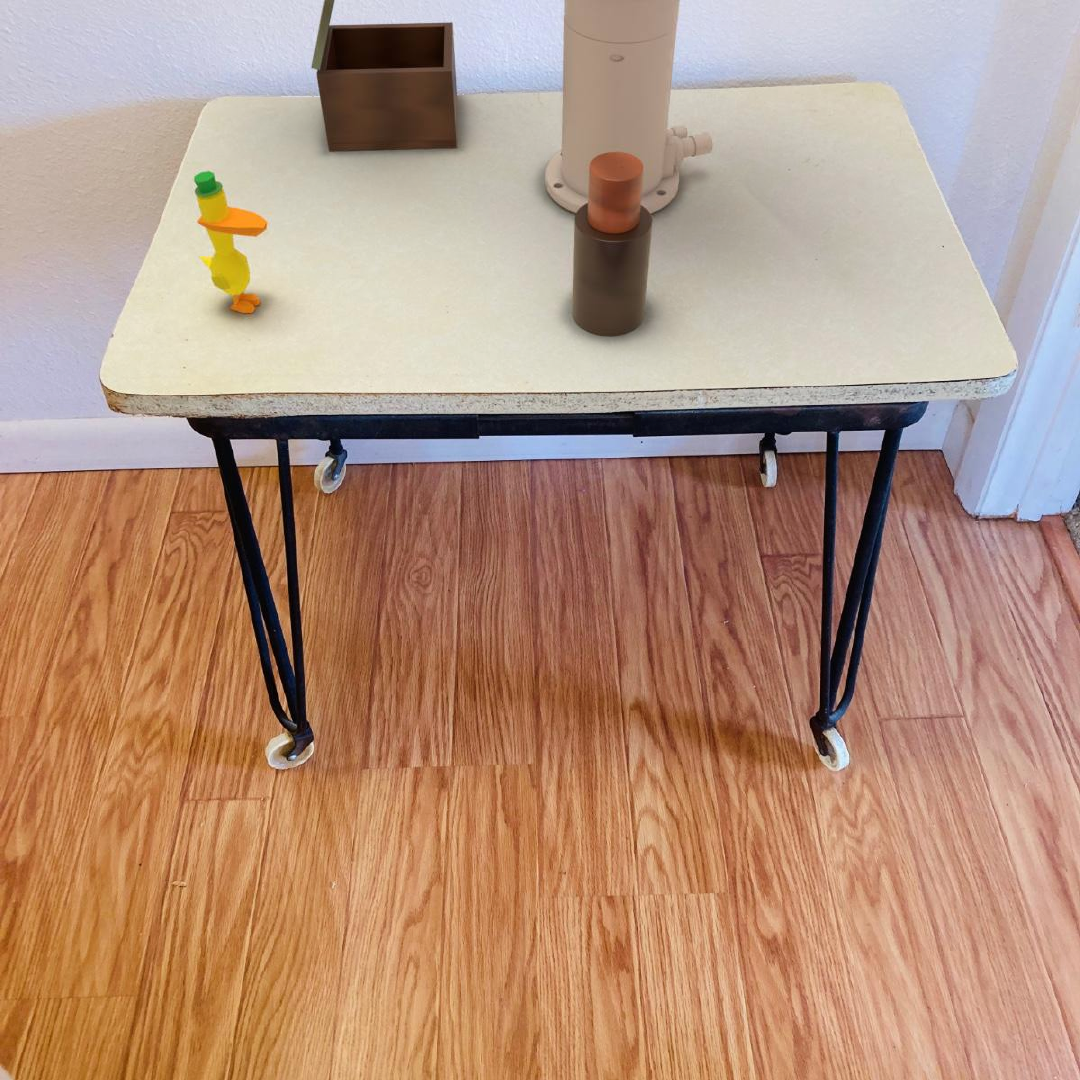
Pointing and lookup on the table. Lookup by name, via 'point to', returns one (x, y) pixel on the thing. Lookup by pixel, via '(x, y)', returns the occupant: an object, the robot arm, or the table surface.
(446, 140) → the brown wooden open box
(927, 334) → the table surface
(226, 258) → the toy figure
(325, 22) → the lid
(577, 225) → the peg stand
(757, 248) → the table surface
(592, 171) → the peg
